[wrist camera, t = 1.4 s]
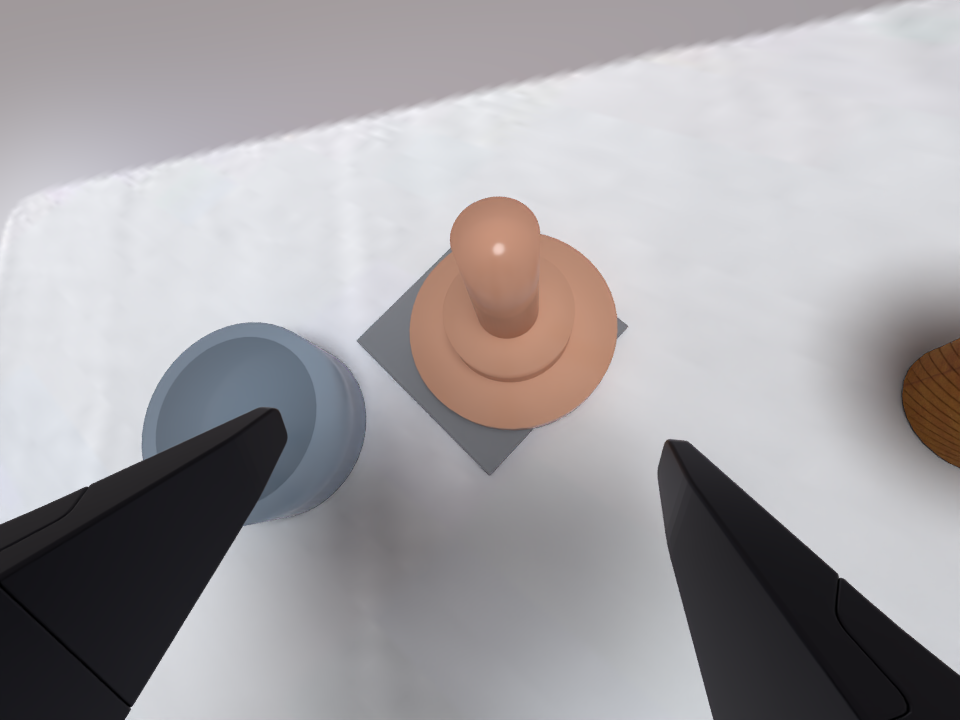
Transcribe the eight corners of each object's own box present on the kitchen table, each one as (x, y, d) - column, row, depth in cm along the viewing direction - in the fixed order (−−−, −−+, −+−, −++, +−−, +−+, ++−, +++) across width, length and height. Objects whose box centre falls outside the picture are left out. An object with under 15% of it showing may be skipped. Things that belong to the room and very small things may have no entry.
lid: (516, 475, 21) (500, 479, 12) (379, 339, 24) (276, 254, 15) (655, 324, 22) (744, 214, 13) (507, 212, 25) (489, 55, 16)
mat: (489, 475, 22) (489, 475, 21) (358, 342, 25) (356, 340, 24) (627, 327, 23) (628, 325, 22) (485, 217, 26) (484, 214, 25)
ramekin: (268, 559, 22) (211, 579, 18) (174, 430, 25) (106, 422, 21) (401, 423, 23) (373, 414, 19) (296, 313, 26) (253, 285, 22)
